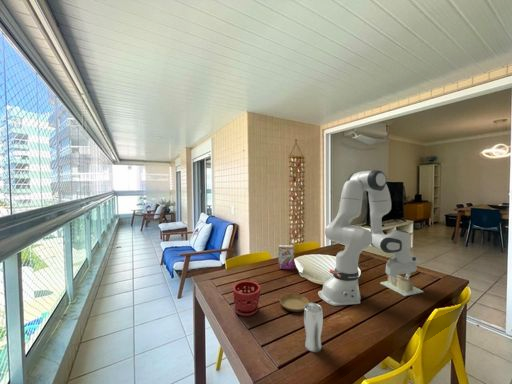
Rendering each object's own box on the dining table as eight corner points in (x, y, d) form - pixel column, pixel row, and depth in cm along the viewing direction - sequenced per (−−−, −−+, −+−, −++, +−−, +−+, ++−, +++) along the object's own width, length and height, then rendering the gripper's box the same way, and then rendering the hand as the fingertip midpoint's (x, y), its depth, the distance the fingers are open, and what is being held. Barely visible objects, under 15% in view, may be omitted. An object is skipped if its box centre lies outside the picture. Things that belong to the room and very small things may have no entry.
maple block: (387, 282, 133) (406, 291, 121) (387, 274, 132) (406, 282, 121) (393, 281, 134) (413, 290, 123) (393, 273, 134) (413, 281, 122)
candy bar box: (278, 269, 156) (278, 246, 155) (278, 266, 161) (278, 244, 160) (294, 269, 154) (294, 247, 154) (293, 267, 159) (293, 245, 159)
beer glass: (322, 355, 77) (322, 314, 77) (302, 350, 80) (302, 310, 79) (323, 342, 84) (323, 304, 83) (305, 337, 87) (305, 301, 86)
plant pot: (230, 318, 100) (230, 292, 99) (236, 302, 113) (236, 280, 112) (258, 320, 98) (258, 294, 97) (261, 304, 111) (261, 281, 110)
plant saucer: (309, 300, 115) (309, 295, 115) (308, 316, 100) (308, 311, 100) (281, 296, 119) (281, 292, 119) (277, 312, 104) (277, 306, 104)
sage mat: (404, 296, 117) (404, 295, 117) (379, 283, 133) (380, 282, 132) (423, 292, 121) (423, 291, 121) (397, 280, 137) (397, 279, 137)
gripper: (392, 261, 120) (392, 285, 121) (419, 257, 126) (418, 280, 127) (382, 257, 126) (382, 280, 127) (408, 253, 132) (408, 276, 133)
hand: (400, 280), depth 127 cm, fingers open, 8 cm apart
